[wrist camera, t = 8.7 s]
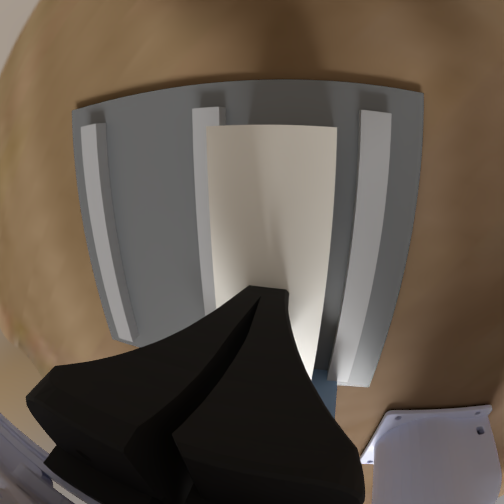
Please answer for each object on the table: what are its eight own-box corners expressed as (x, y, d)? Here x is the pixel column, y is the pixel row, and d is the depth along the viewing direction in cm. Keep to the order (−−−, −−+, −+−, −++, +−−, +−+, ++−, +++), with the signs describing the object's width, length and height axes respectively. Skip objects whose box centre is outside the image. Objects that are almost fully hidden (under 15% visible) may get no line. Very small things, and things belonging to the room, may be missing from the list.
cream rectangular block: (334, 128, 11) (336, 127, 7) (312, 359, 16) (302, 423, 12) (247, 126, 12) (206, 126, 8) (250, 351, 17) (226, 410, 13)
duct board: (420, 94, 10) (461, 80, 6) (368, 382, 16) (369, 440, 12) (76, 110, 14) (18, 116, 10) (115, 335, 20) (81, 372, 16)
